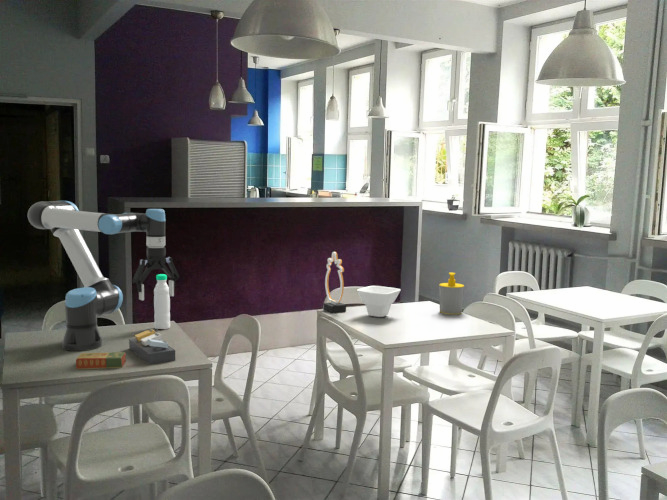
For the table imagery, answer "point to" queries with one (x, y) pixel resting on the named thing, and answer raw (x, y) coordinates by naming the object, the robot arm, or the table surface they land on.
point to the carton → (100, 360)
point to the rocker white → (153, 337)
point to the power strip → (151, 352)
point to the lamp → (336, 305)
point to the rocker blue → (157, 343)
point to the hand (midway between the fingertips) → (156, 297)
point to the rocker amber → (144, 334)
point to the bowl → (378, 299)
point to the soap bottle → (451, 296)
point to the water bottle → (161, 303)
